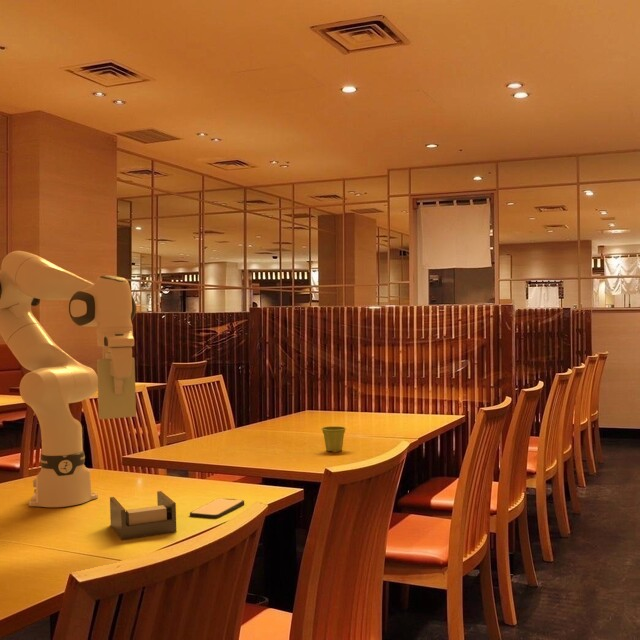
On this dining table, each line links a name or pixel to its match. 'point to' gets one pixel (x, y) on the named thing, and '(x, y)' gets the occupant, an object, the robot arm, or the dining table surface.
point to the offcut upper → (146, 515)
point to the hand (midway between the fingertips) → (116, 393)
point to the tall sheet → (112, 402)
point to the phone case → (217, 508)
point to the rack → (144, 528)
